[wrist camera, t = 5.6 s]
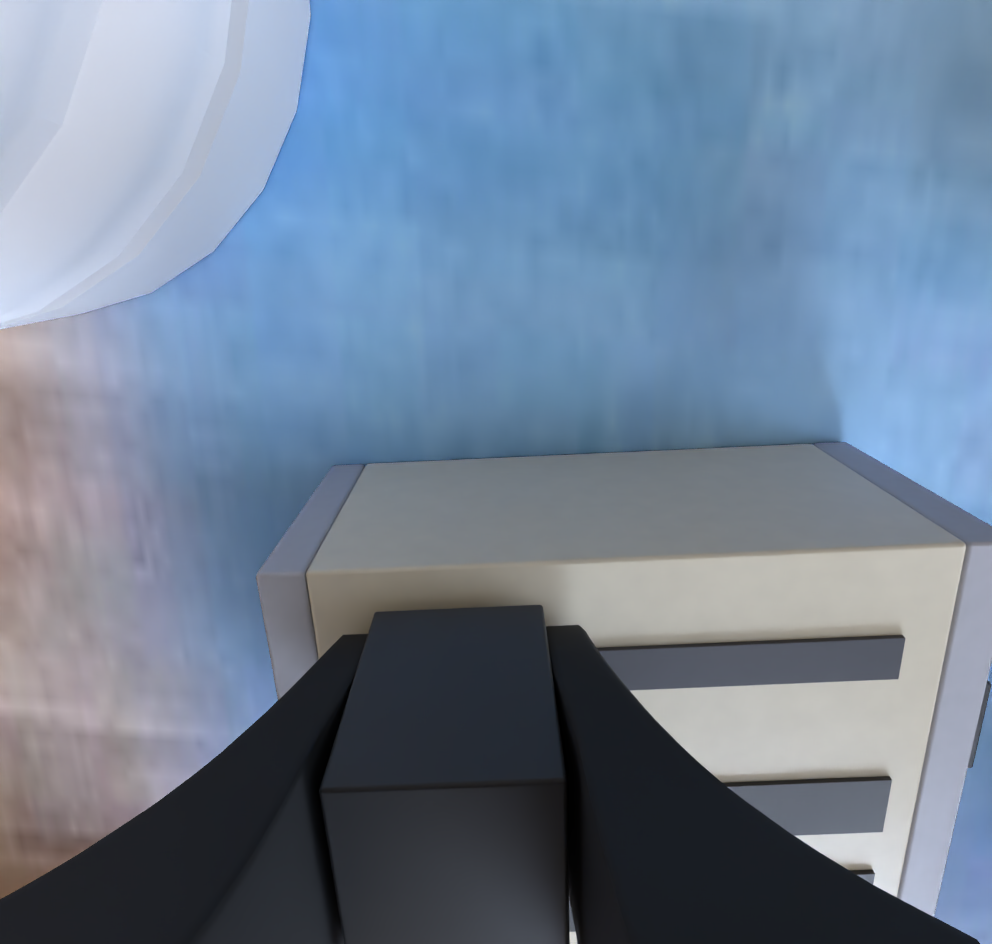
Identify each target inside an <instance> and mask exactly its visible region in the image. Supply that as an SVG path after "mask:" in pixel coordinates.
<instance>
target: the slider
mask: <svg viewBox="0 0 992 944" xmlns="http://www.w3.org/2000/svg"><path fill="white" fill-rule="evenodd" d="M319 795H320V801H321V807H322V813H323V819H324V825H325V832H326V838H327V844H328V850H329V856H330V862H331V868H332V874H333V880H334V886H335V892H336V898H337V904H338V910H339V916H340V922H341V928H342V934H343V940H344V944H570V937H569V868H568V799H567V775H566V768H565V761H564V754H563V746H562V739H561V732H560V725H559V718H558V710H557V703H556V696H555V689H554V682H553V674H552V667H551V660H550V653H549V646H548V638H547V631H546V624H545V617H544V610H543V606H542V605H520V606H497V607H474V608H451V609H428V610H405V611H382V612H375V613H374V616H373V619H372V622H371V626H370V629H369V632H368V635H367V638H366V642H365V645H364V648H363V651H362V654H361V658H360V661H359V664H358V667H357V670H356V674H355V677H354V680H353V683H352V686H351V689H350V693H349V696H348V699H347V702H346V705H345V709H344V712H343V715H342V718H341V721H340V725H339V728H338V731H337V734H336V737H335V740H334V744H333V747H332V750H331V753H330V756H329V760H328V763H327V766H326V769H325V772H324V776H323V779H322V782H321V785H320V788H319Z"/></svg>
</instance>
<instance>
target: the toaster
mask: <svg viewBox="0 0 992 944" xmlns="http://www.w3.org/2000/svg"><path fill="white" fill-rule="evenodd" d="M256 580H257V585H258V591H259V597H260V602H261V608H262V613H263V619H264V624H265V630H266V635H267V641H268V647H269V652H270V658H271V663H272V669H273V674H274V680H275V685H276V691H277V696H278V700H279V699H280V698H281V697H282V696H283V695H284V694H285V693H286V692H287V691H288V690H289V689H290V688H291V687H292V686H293V685H294V684H295V683H296V682H297V681H298V680H299V679H300V678H301V677H302V676H303V675H304V674H305V673H306V672H307V671H308V670H309V669H310V668H311V667H312V666H313V665H314V664H315V663H316V662H317V661H318V660H319V659H320V658H321V657H322V655H323V654H324V653H325V652H326V651H327V650H328V649H329V648H330V647H331V646H332V645H333V644H334V643H335V642H336V641H337V640H338V639H339V638H340V637H341V636H342V635H349V634H368V632H369V629H370V626H371V622H372V619H373V616H374V613H375V612H382V611H405V610H428V609H451V608H474V607H497V606H520V605H542V606H543V610H544V617H545V624H546V626H563V625H580V626H581V627H582V628H583V629H584V630H585V631H586V632H587V634H588V636H589V637H590V639H591V640H592V642H593V643H594V645H595V646H596V648H597V649H598V651H599V652H600V653H601V655H602V656H603V658H604V659H605V660H606V662H607V663H608V664H609V666H610V667H611V668H612V669H613V671H614V672H615V673H616V675H617V676H618V677H619V678H620V680H621V681H622V682H623V683H624V684H625V686H626V687H627V688H628V689H629V690H630V691H631V693H632V694H633V695H634V696H635V697H636V698H637V700H638V701H639V702H640V703H641V704H642V705H643V707H644V708H645V709H646V710H647V711H648V712H649V713H650V714H651V715H652V717H653V718H654V719H655V720H656V721H657V722H658V723H659V724H660V725H661V726H662V727H663V728H664V729H665V730H666V731H667V732H668V733H669V734H670V735H671V736H672V737H673V738H674V739H675V740H676V741H677V742H678V743H679V744H680V745H681V746H682V747H683V748H684V749H685V750H686V751H687V752H688V753H689V754H690V755H691V756H692V757H694V758H695V759H696V760H697V761H698V762H699V763H700V764H701V765H702V766H703V767H705V768H706V769H707V770H708V771H709V772H710V773H712V774H713V775H714V776H715V777H716V778H717V779H718V780H720V781H721V782H722V783H723V784H724V785H726V786H727V787H728V788H729V789H731V790H732V791H733V792H735V793H736V794H737V795H738V796H740V797H741V798H742V799H744V800H745V801H746V802H748V803H749V804H750V805H752V806H753V807H755V808H756V809H757V810H759V811H760V812H762V813H763V814H764V815H766V816H767V817H768V818H770V819H771V820H773V821H774V822H775V823H777V824H778V825H780V826H781V827H782V828H784V829H785V830H787V831H788V832H789V833H791V834H792V835H794V836H796V837H797V838H799V839H800V840H802V841H803V842H805V843H806V844H808V845H809V846H811V847H812V848H814V849H815V850H817V851H818V852H820V853H822V854H823V855H825V856H827V857H828V858H830V859H831V860H833V861H835V862H836V863H838V864H840V865H841V866H843V867H845V868H846V869H848V870H850V871H851V872H853V873H854V874H856V875H858V876H859V877H861V878H863V879H864V880H866V881H868V882H869V883H871V884H873V885H875V886H876V887H878V888H880V889H882V890H884V891H886V892H887V893H889V894H891V895H893V896H895V897H897V898H899V899H901V900H903V901H904V902H906V903H908V904H910V905H912V906H914V907H916V908H918V909H920V910H922V911H923V912H925V913H927V914H929V915H931V916H933V917H934V915H935V910H936V906H937V901H938V897H939V892H940V888H941V884H942V879H943V875H944V870H945V866H946V861H947V857H948V852H949V848H950V844H951V839H952V835H953V830H954V826H955V821H956V817H957V812H958V808H959V804H960V799H961V795H962V790H963V786H964V781H965V777H966V773H967V768H971V767H972V766H973V762H974V758H975V754H976V749H977V745H978V740H979V736H980V732H981V727H982V723H983V718H984V714H985V710H986V705H987V701H988V697H989V692H990V688H991V684H990V682H988V681H987V679H988V675H989V670H990V666H991V661H992V526H991V525H989V524H987V523H985V522H984V521H982V520H980V519H978V518H977V517H975V516H973V515H971V514H970V513H968V512H966V511H964V510H963V509H961V508H959V507H958V506H956V505H954V504H952V503H951V502H949V501H947V500H945V499H944V498H942V497H940V496H938V495H937V494H935V493H933V492H932V491H930V490H928V489H926V488H925V487H923V486H921V485H919V484H918V483H916V482H914V481H912V480H911V479H909V478H907V477H905V476H904V475H902V474H900V473H899V472H897V471H895V470H893V469H892V468H890V467H888V466H886V465H885V464H883V463H881V462H879V461H878V460H876V459H874V458H872V457H871V456H869V455H867V454H866V453H864V452H862V451H860V450H859V449H857V448H855V447H853V446H852V445H850V444H848V443H846V442H834V443H816V444H814V445H812V444H792V445H770V446H748V447H726V448H704V449H681V450H659V451H637V452H615V453H593V454H571V455H549V456H527V457H505V458H483V459H461V460H439V461H417V462H395V463H373V464H367V465H366V466H364V465H362V464H353V465H334V466H332V467H331V468H330V470H329V471H328V473H327V474H326V476H325V477H324V478H323V480H322V481H321V483H320V484H319V486H318V487H317V488H316V490H315V491H314V493H313V494H312V496H311V497H310V498H309V500H308V501H307V503H306V504H305V506H304V507H303V508H302V510H301V511H300V513H299V514H298V516H297V517H296V518H295V520H294V521H293V523H292V524H291V526H290V527H289V528H288V530H287V531H286V533H285V534H284V535H283V537H282V538H281V540H280V541H279V543H278V544H277V545H276V547H275V548H274V550H273V551H272V553H271V554H270V555H269V557H268V558H267V560H266V561H265V563H264V564H263V565H262V567H261V568H260V570H259V571H258V573H257V575H256ZM569 937H570V944H577V937H576V931H575V926H574V921H573V916H572V910H571V905H570V900H569Z"/></svg>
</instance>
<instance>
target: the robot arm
mask: <svg viewBox="0 0 992 944" xmlns="http://www.w3.org/2000/svg"><path fill="white" fill-rule="evenodd" d="M546 631H547V638H548V646H549V653H550V660H551V667H552V674H553V682H554V689H555V696H556V703H557V710H558V718H559V725H560V732H561V739H562V746H563V754H564V761H565V768H566V775H567V799H568V868H569V900H570V905H571V910H572V916H573V921H574V926H575V931H576V937H577V944H980V943H979V942H978V941H977V940H976V939H975V938H973V937H971V936H969V935H967V934H965V933H963V932H961V931H959V930H958V929H956V928H954V927H952V926H950V925H948V924H946V923H944V922H942V921H940V920H939V919H937V918H935V917H933V916H931V915H929V914H927V913H925V912H923V911H922V910H920V909H918V908H916V907H914V906H912V905H910V904H908V903H906V902H904V901H903V900H901V899H899V898H897V897H895V896H893V895H891V894H889V893H887V892H886V891H884V890H882V889H880V888H878V887H876V886H875V885H873V884H871V883H869V882H868V881H866V880H864V879H863V878H861V877H859V876H858V875H856V874H854V873H853V872H851V871H850V870H848V869H846V868H845V867H843V866H841V865H840V864H838V863H836V862H835V861H833V860H831V859H830V858H828V857H827V856H825V855H823V854H822V853H820V852H818V851H817V850H815V849H814V848H812V847H811V846H809V845H808V844H806V843H805V842H803V841H802V840H800V839H799V838H797V837H796V836H794V835H792V834H791V833H789V832H788V831H787V830H785V829H784V828H782V827H781V826H780V825H778V824H777V823H775V822H774V821H773V820H771V819H770V818H768V817H767V816H766V815H764V814H763V813H762V812H760V811H759V810H757V809H756V808H755V807H753V806H752V805H750V804H749V803H748V802H746V801H745V800H744V799H742V798H741V797H740V796H738V795H737V794H736V793H735V792H733V791H732V790H731V789H729V788H728V787H727V786H726V785H724V784H723V783H722V782H721V781H720V780H718V779H717V778H716V777H715V776H714V775H713V774H712V773H710V772H709V771H708V770H707V769H706V768H705V767H703V766H702V765H701V764H700V763H699V762H698V761H697V760H696V759H695V758H694V757H692V756H691V755H690V754H689V753H688V752H687V751H686V750H685V749H684V748H683V747H682V746H681V745H680V744H679V743H678V742H677V741H676V740H675V739H674V738H673V737H672V736H671V735H670V734H669V733H668V732H667V731H666V730H665V729H664V728H663V727H662V726H661V725H660V724H659V723H658V722H657V721H656V720H655V719H654V718H653V717H652V715H651V714H650V713H649V712H648V711H647V710H646V709H645V708H644V707H643V705H642V704H641V703H640V702H639V701H638V700H637V698H636V697H635V696H634V695H633V694H632V693H631V691H630V690H629V689H628V688H627V687H626V686H625V684H624V683H623V682H622V681H621V680H620V678H619V677H618V676H617V675H616V673H615V672H614V671H613V669H612V668H611V667H610V666H609V664H608V663H607V662H606V660H605V659H604V658H603V656H602V655H601V653H600V652H599V651H598V649H597V648H596V646H595V645H594V643H593V642H592V640H591V639H590V637H589V636H588V634H587V632H586V631H585V630H584V629H583V628H582V627H581V626H580V625H563V626H546ZM367 635H368V634H349V635H342V636H341V637H340V638H339V639H338V640H337V641H336V642H335V643H334V644H333V645H332V646H331V647H330V648H329V649H328V650H327V651H326V652H325V653H324V654H323V655H322V657H321V658H320V659H319V660H318V661H317V662H316V663H315V664H314V665H313V666H312V667H311V668H310V669H309V670H308V671H307V672H306V673H305V674H304V675H303V676H302V677H301V678H300V679H299V680H298V681H297V682H296V683H295V684H294V685H293V686H292V687H291V688H290V689H289V690H288V691H287V692H286V693H285V694H284V695H283V696H282V697H281V698H280V699H279V700H278V701H277V702H276V703H275V704H274V705H273V706H272V707H271V708H270V709H269V710H268V711H267V712H266V713H265V714H264V715H263V716H262V717H260V718H259V719H258V720H257V721H256V722H255V723H254V724H253V725H251V726H250V727H249V728H248V729H247V730H246V731H245V732H244V733H243V734H241V735H240V736H239V737H238V738H237V739H236V740H235V741H234V742H233V743H231V744H230V745H229V746H228V747H227V748H226V749H225V750H224V751H223V752H221V753H220V754H219V755H218V756H216V757H215V758H214V759H213V760H212V761H210V762H209V763H208V764H207V765H205V766H204V767H203V768H202V769H200V770H199V771H198V772H197V773H195V774H194V775H193V776H192V777H190V778H189V779H188V780H186V781H185V782H184V783H182V784H181V785H180V786H178V787H177V788H176V789H174V790H173V791H172V792H170V793H169V794H168V795H166V796H165V797H164V798H162V799H161V800H160V801H158V802H157V803H155V804H154V805H153V806H151V807H150V808H148V809H147V810H145V811H144V812H142V813H141V814H139V815H138V816H136V817H135V818H133V819H132V820H130V821H129V822H127V823H126V824H124V825H123V826H121V827H119V828H118V829H116V830H115V831H113V832H112V833H110V834H109V835H107V836H106V837H104V838H103V839H101V840H100V841H98V842H97V843H95V844H94V845H92V846H91V847H89V848H88V849H86V850H84V851H83V852H81V853H80V854H78V855H77V856H75V857H73V858H72V859H70V860H68V861H67V862H65V863H63V864H62V865H60V866H58V867H57V868H55V869H53V870H51V871H50V872H48V873H46V874H45V875H43V876H41V877H40V878H38V879H36V880H34V881H33V882H31V883H29V884H27V885H26V886H24V887H22V888H20V889H18V890H17V891H15V892H13V893H11V894H9V895H8V896H6V897H4V898H2V899H0V944H344V940H343V934H342V928H341V922H340V916H339V910H338V904H337V898H336V892H335V886H334V880H333V874H332V868H331V862H330V856H329V850H328V844H327V838H326V832H325V825H324V819H323V813H322V807H321V801H320V795H319V788H320V785H321V782H322V779H323V776H324V772H325V769H326V766H327V763H328V760H329V756H330V753H331V750H332V747H333V744H334V740H335V737H336V734H337V731H338V728H339V725H340V721H341V718H342V715H343V712H344V709H345V705H346V702H347V699H348V696H349V693H350V689H351V686H352V683H353V680H354V677H355V674H356V670H357V667H358V664H359V661H360V658H361V654H362V651H363V648H364V645H365V642H366V638H367Z"/></svg>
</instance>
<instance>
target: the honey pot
mask: <svg viewBox="0 0 992 944" xmlns="http://www.w3.org/2000/svg"><path fill="white" fill-rule="evenodd" d="M310 17H311V12H310V0H0V329H4V328H9V327H15V326H20V325H26V324H31V323H36V322H42V321H47V320H53V319H58V318H63V317H69V316H74V315H79V314H83V313H86V312H90V311H93V310H96V309H100V308H103V307H106V306H110V305H113V304H117V303H120V302H123V301H127V300H130V299H133V298H137V297H140V296H143V295H147V294H150V293H152V292H154V291H155V290H157V289H158V288H160V287H161V286H163V285H164V284H166V283H167V282H169V281H170V280H172V279H173V278H175V277H176V276H178V275H179V274H181V273H182V272H184V271H185V270H187V269H188V268H190V267H191V266H193V265H194V264H196V263H197V262H199V261H200V260H202V259H203V258H205V257H206V256H208V255H209V254H211V253H212V252H214V250H215V249H216V248H217V247H218V245H219V244H220V243H221V242H222V240H223V239H224V238H225V237H226V235H227V234H228V233H229V232H230V231H231V229H232V228H233V227H234V226H235V224H236V223H237V222H238V221H239V219H240V218H241V217H242V216H243V214H244V213H245V212H246V211H247V210H248V208H249V207H250V206H251V205H252V203H253V202H254V201H255V200H256V198H257V197H258V196H259V195H260V193H261V192H262V191H263V189H264V187H265V185H266V182H267V180H268V178H269V175H270V173H271V170H272V168H273V166H274V163H275V161H276V159H277V156H278V154H279V152H280V149H281V147H282V144H283V142H284V140H285V137H286V135H287V133H288V130H289V128H290V125H291V123H292V121H293V118H294V116H295V114H296V111H297V106H298V99H299V92H300V85H301V78H302V72H303V65H304V58H305V51H306V44H307V38H308V31H309V24H310Z"/></svg>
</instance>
